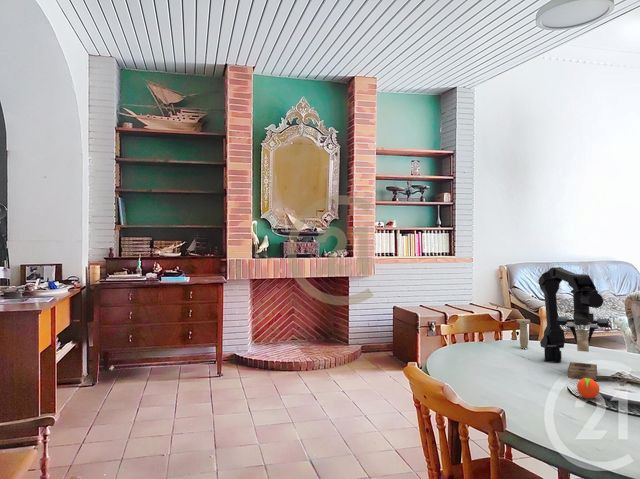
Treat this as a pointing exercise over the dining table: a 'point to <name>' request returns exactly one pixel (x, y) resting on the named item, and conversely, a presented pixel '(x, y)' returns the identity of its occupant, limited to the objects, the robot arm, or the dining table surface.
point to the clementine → (588, 388)
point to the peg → (582, 340)
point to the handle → (523, 332)
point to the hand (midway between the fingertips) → (582, 343)
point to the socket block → (582, 370)
